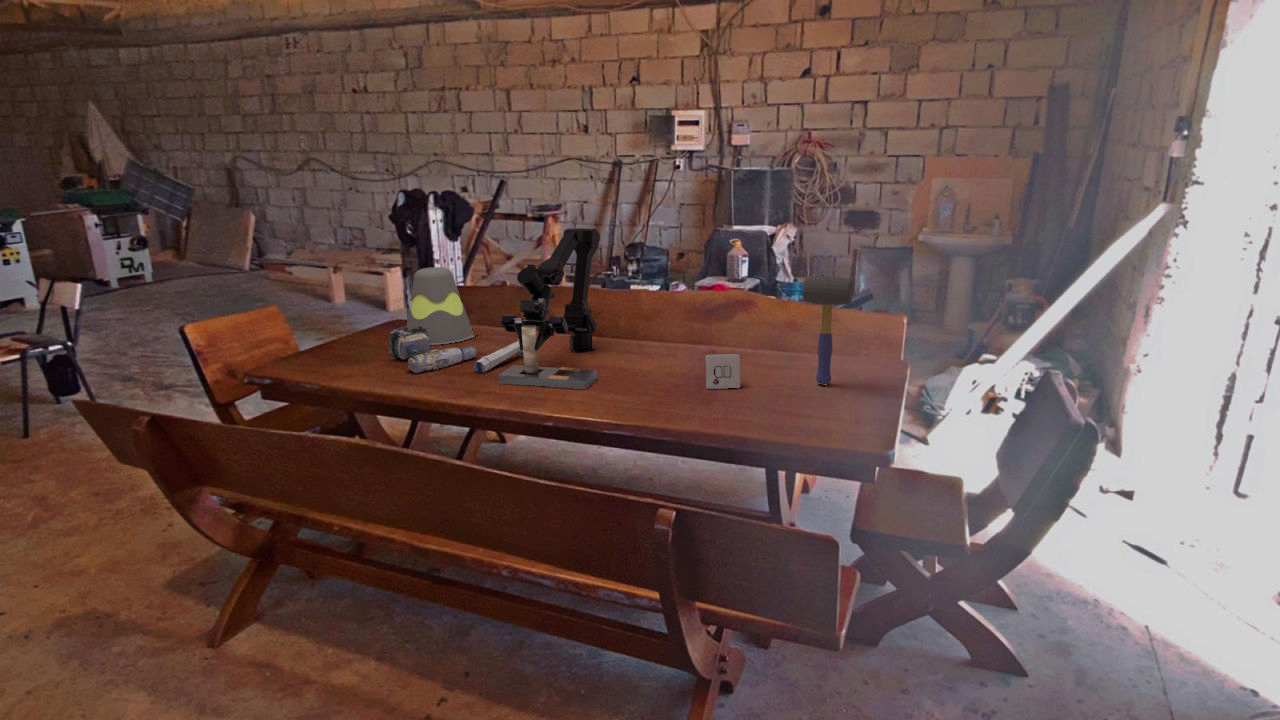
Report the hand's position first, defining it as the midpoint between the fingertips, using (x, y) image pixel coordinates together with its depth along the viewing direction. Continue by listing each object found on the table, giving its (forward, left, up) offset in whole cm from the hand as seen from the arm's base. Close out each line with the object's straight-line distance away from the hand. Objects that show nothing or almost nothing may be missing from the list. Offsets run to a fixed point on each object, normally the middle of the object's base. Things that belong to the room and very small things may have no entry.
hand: (528, 349), depth 210 cm
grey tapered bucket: (+8, -68, -10) cm, 69 cm away
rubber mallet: (-67, +47, -10) cm, 82 cm away
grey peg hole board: (-5, +2, -9) cm, 11 cm away
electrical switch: (-43, +33, -10) cm, 55 cm away
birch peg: (-1, -1, -7) cm, 7 cm away
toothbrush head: (-1, -22, -10) cm, 25 cm away
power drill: (+20, -36, -10) cm, 43 cm away
